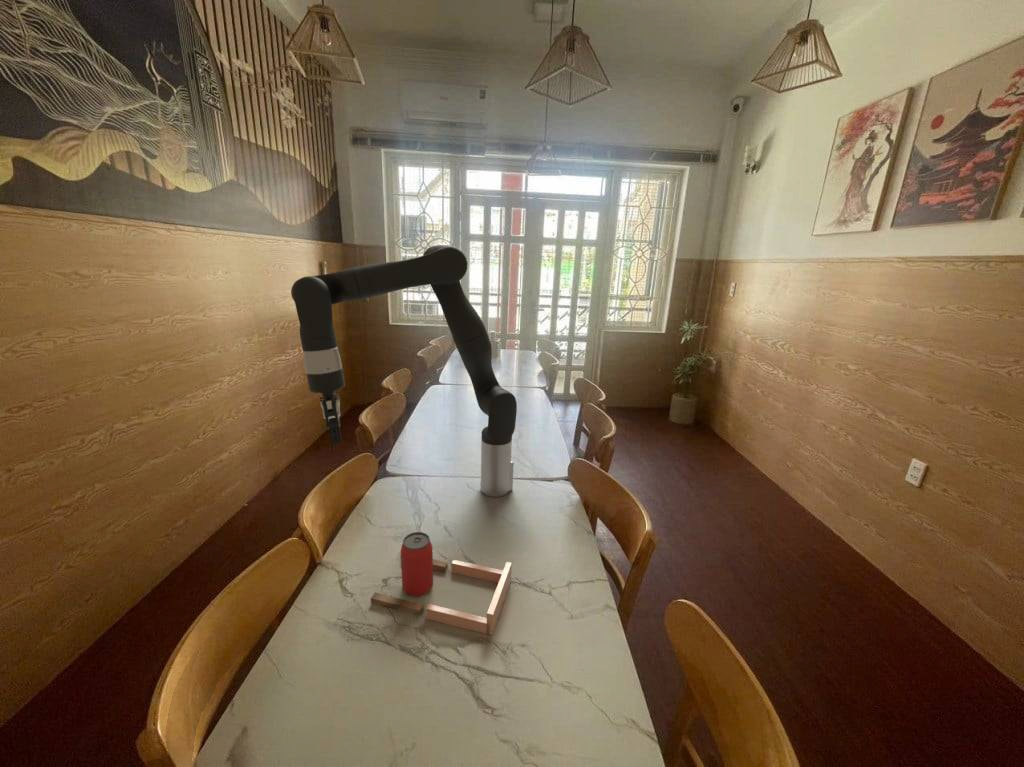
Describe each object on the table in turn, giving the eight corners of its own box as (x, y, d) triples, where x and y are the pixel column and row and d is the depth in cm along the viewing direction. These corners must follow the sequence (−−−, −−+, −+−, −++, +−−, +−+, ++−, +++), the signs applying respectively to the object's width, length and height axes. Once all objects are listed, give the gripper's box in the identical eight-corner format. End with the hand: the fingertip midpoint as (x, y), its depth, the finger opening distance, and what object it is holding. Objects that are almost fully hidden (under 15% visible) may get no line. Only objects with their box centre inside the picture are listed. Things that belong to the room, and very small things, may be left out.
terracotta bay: (426, 618, 82) (425, 598, 80) (453, 568, 95) (453, 550, 94) (492, 635, 79) (493, 614, 77) (510, 581, 92) (511, 562, 91)
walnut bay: (371, 604, 85) (370, 598, 84) (404, 558, 98) (404, 552, 98) (419, 616, 82) (419, 610, 82) (447, 567, 96) (447, 562, 95)
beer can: (438, 579, 92) (437, 534, 88) (423, 601, 86) (421, 553, 82) (413, 572, 94) (411, 527, 90) (396, 592, 88) (393, 545, 84)
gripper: (342, 372, 87) (355, 443, 91) (341, 361, 99) (352, 424, 103) (303, 377, 84) (318, 450, 88) (307, 365, 97) (319, 430, 101)
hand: (336, 436), depth 96 cm, fingers open, 8 cm apart
